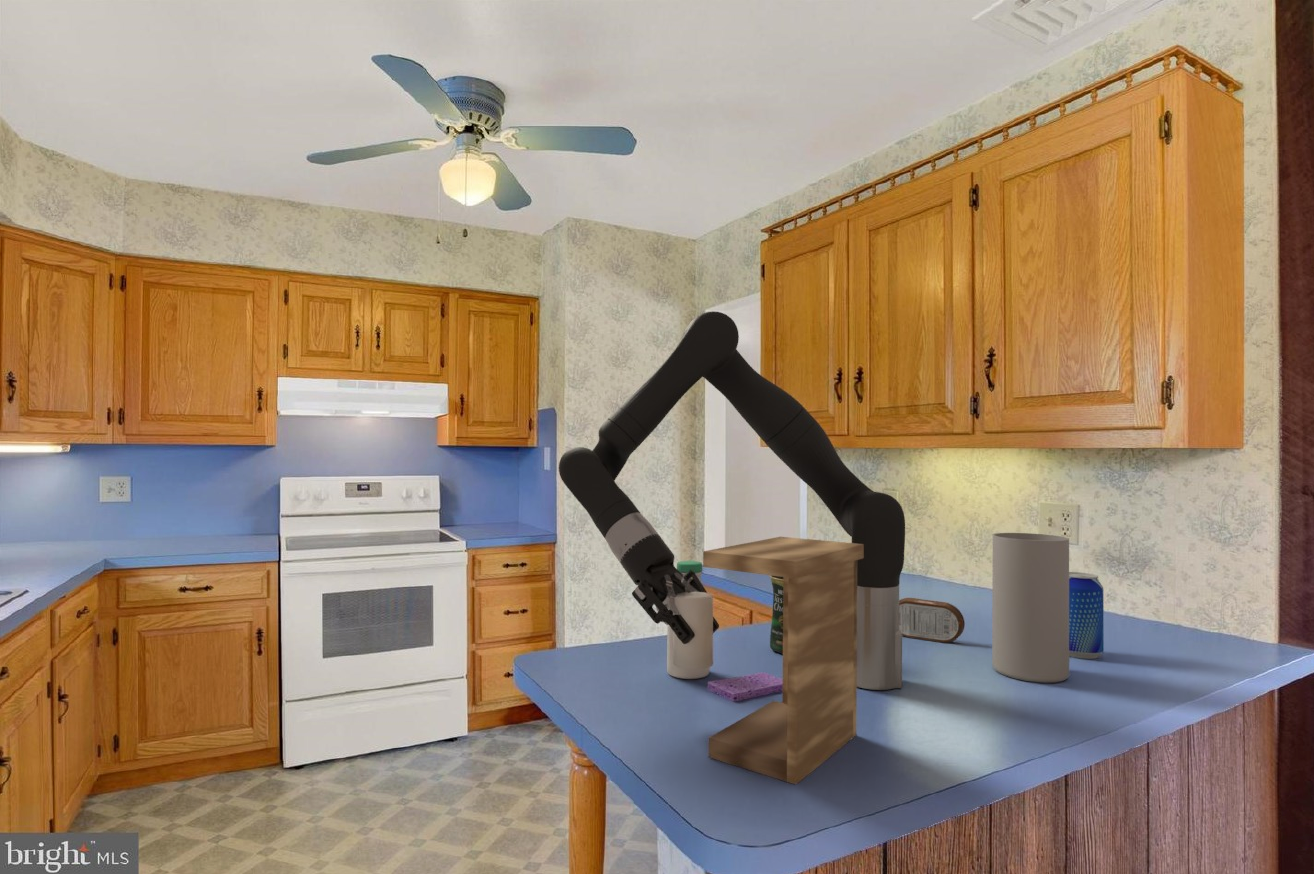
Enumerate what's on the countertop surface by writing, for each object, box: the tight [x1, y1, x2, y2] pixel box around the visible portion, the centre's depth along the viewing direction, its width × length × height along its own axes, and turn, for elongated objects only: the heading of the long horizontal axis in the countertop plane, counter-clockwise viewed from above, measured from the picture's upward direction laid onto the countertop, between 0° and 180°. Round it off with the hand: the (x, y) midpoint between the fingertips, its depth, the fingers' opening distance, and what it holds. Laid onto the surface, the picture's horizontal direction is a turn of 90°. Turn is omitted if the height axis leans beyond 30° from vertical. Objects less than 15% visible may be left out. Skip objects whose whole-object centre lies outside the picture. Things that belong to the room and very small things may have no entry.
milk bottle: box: [666, 560, 711, 680], centre depth 130 cm, size 8×8×20 cm
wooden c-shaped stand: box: [702, 536, 864, 785], centre depth 98 cm, size 13×22×27 cm, turn 143°
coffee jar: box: [769, 575, 783, 655], centre depth 144 cm, size 10×8×19 cm
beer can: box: [1069, 571, 1105, 660], centre depth 145 cm, size 8×8×16 cm
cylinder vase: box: [991, 532, 1070, 684], centre depth 132 cm, size 12×12×25 cm
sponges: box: [707, 671, 783, 702], centre depth 121 cm, size 7×13×2 cm, turn 122°
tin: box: [899, 597, 965, 644], centre depth 155 cm, size 15×3×8 cm, turn 58°
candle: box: [673, 592, 714, 669], centre depth 107 cm, size 6×6×10 cm
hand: (702, 635), depth 106 cm, fingers closed on candle, 6 cm apart
